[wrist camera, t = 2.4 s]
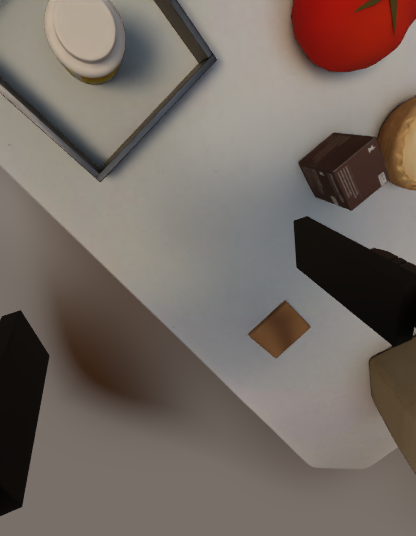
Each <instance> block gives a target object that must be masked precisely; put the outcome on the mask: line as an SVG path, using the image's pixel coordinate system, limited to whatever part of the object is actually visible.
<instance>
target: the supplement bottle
mask: <svg viewBox="0 0 416 536" xmlns="http://www.w3.org/2000/svg"><path fill="white" fill-rule="evenodd" d="M44 25H45V32H46V36H47V40H48V42H49V45H50V47H51V49H52V51H53V52H54V54H55V55H56V57H57V58H58V60H59V61H60V62H61V63H62V65H63V66H64V67H65V68H66V69H67V70H68V72H69V73H70V74H72V75H73V76H74V77H75V78H77V79H78V80H80V81H82V82H84V83H88V84H102V83H105V82H107V81H109V80H110V79H111V78H112V77H113V76H114V75H115V74H116V72H117V71H118V68H119V66H120V63H121V61H122V58H123V55H124V51H125V42H126V39H125V30H124V26H123V23H122V20H121V17H120V15H119V13H118V12H117V10H116V8H115V7H114V6H113V4H112V3H111V2H110V1H109V0H49V2H48V4H47V7H46V11H45V18H44Z"/></svg>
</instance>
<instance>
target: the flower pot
mask: <svg viewBox="0 0 416 536" xmlns="http://www.w3.org/2000/svg"><path fill="white" fill-rule="evenodd" d="M369 365H370V381H371V395H372V398H373V400H374V402H375V404H376V406H377V409H378V411H379V413H380V415H381V416H382V418H383V420H384V422H385V424H386V426H387V428H388V430H389V432H390V433H391V435H392V437H393V439H394V440H395V442H396V444H397V446H398V447H399V449H400V451H401V452H402V454H403V455H404V457H405V459H406V460H407V462H408V463H409V465H410V466H411V468H412V470H413V471H414V473H415V474H416V336H415V337H413V338H412V340H410V341H408V342H405V343H403V344H401V345H398V346H396V347H393V348H391V349H389V350H387V351H385V352H383V353H381V354H379V355H377V356H375V357H373V358H372V359H371V360H370V362H369Z"/></svg>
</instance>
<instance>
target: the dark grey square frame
mask: <svg viewBox="0 0 416 536" xmlns="http://www.w3.org/2000/svg"><path fill="white" fill-rule="evenodd" d="M154 1H155V2H156V4H157V5H158V6H159V8H160V9H161V11H162V12H163V13H164V15H165V16H166V18H167V19H168V20H169V22H170V23H171V25H172V26H173V28H174V29H175V30H176V32H177V33H178V35H179V36H180V37H181V39H182V40H183V42H184V43H185V44H186V46H187V47H188V49H189V50H190V51H191V53H192V54H193V56H194V57H195V58H196V60H197V61H198V63H199V64H198V65H197V66H196V67H195V68H194V69H193V70H192V71H191V72H190V73H189V74H188V75H187V76H186V77H185V78H184V80H183V81H182V82H181V83H180V84H179V85H178V86H177V87H176V88H175V89H174V90H173V91H172V92H171V93H170V94H169V95H168V96H167V98H166V99H165V100H164V101H163V102H162V103H161V104H160V105H159V106H158V107H157V108H156V109H155V110H154V111H153V112H152V113H151V114H150V116H149V117H148V118H147V119H146V120H145V121H144V122H143V123H142V124H141V125H140V126H139V127H138V128H137V129H136V130H135V131H134V133H133V134H132V135H131V136H130V137H129V138H128V139H127V140H126V141H125V142H124V143H123V144H122V145H121V146H120V147H119V148H118V149H117V151H116V152H115V153H114V154H113V155H112V156H111V157H110V158H109V159H108V160H107V161H106V162H105V163H104V164H103V165H102V166H101V167H100V169H99V167H98V166H97V165H96V164H94V163H93V162H92V161H91V160H90V159H89V158H88V157H87V156H86V155H85V154H84V153H82V152H81V151H80V150H79V149H78V148H77V147H76V146H75V145H74V144H73V143H72V142H71V141H69V140H68V139H67V138H66V137H65V136H64V135H63V134H62V133H61V132H60V131H59V130H57V129H56V128H55V127H54V126H53V125H52V124H51V123H50V122H49V121H48V120H47V119H46V118H44V117H43V116H42V115H41V114H40V113H39V112H38V111H37V110H36V109H35V108H34V107H33V106H31V105H30V104H29V103H28V102H27V101H26V100H25V99H24V98H23V97H22V96H21V95H19V94H18V93H17V92H16V91H15V90H14V89H13V88H12V87H11V86H10V85H9V84H8V83H6V82H5V81H4V80H3V79H2V78H1V77H0V93H1V94H2V95H3V96H4V97H5V98H7V99H8V100H9V101H10V102H11V103H12V104H13V105H14V106H15V107H17V108H18V109H19V110H20V111H21V112H22V113H23V114H24V115H26V116H27V117H28V118H29V119H30V120H31V121H32V122H33V123H34V124H36V125H37V126H38V127H39V128H40V129H41V130H42V131H43V132H45V133H46V134H47V135H48V136H49V137H50V138H51V139H52V140H53V141H55V142H56V143H57V144H58V145H59V146H60V147H61V148H62V149H64V150H65V151H66V152H67V153H68V154H69V155H70V156H71V157H73V158H74V159H75V160H76V161H77V162H78V163H79V164H80V165H81V166H83V167H84V168H85V169H86V170H87V171H88V172H89V173H90V174H92V175H93V176H94V177H95V178H96V179H97V180H98V181H99V182H101V181H102V180H103V179H104V178H105V177H106V176H107V175H108V174H109V173H110V172H111V171H112V170H113V169H114V168H115V167H116V165H117V164H118V163H119V162H120V161H121V160H122V159H123V158H124V157H125V156H126V155H127V154H128V153H129V152H130V151H131V150H132V149H133V148H134V147H135V145H136V144H137V143H138V142H139V141H140V140H141V139H142V138H143V137H144V136H145V135H146V134H147V133H148V132H149V131H150V130H151V129H152V128H153V127H154V125H155V124H156V123H157V122H158V121H159V120H160V119H161V118H162V117H163V116H164V115H165V114H166V113H167V112H168V111H169V110H170V109H171V108H172V107H173V105H174V104H175V103H176V102H177V101H178V100H179V99H180V98H181V97H182V96H183V95H184V94H185V93H186V92H187V91H188V90H189V89H190V88H191V87H192V85H193V84H194V83H195V82H196V81H197V80H198V79H199V78H200V77H201V76H202V75H203V74H204V73H205V72H206V71H207V70H208V69H209V68H210V67H211V65H212V64H213V63H214V62H215V61H216V60H217V59H216V57H215V56H214V54H213V53H212V51H211V50H210V48H209V47H208V45H207V44H206V43H205V41H204V40H203V38H202V37H201V35H200V34H199V32H198V31H197V29H196V28H195V26H194V25H193V23H192V22H191V20H190V19H189V17H188V16H187V14H186V13H185V12H184V10H183V9H182V7H181V6H180V4H179V3H178V1H177V0H154Z"/></svg>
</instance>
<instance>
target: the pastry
mask: <svg viewBox="0 0 416 536" xmlns="http://www.w3.org/2000/svg"><path fill="white" fill-rule="evenodd" d="M377 141H378V145H379V148H380V151H381V153H382V155H383V157H384V160H385V166H386V169H387V171H388V174H389V177H390V179H389V181H390V182H391V183H393V184H395V185H397V186H399V187H402V188H405V189H409V190H416V97H414V98H411V99H409V100H408V101H406V102H404V103H402V104H401V105H400V106H399V107H398V108H397V109H395V110H394V111H393V112H392V113H391V114H390V115H389V117H388V118H387V119H386V121H385V123H384V124H383V126H382V128H381V131H380V133H379V136H378V139H377Z"/></svg>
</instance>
